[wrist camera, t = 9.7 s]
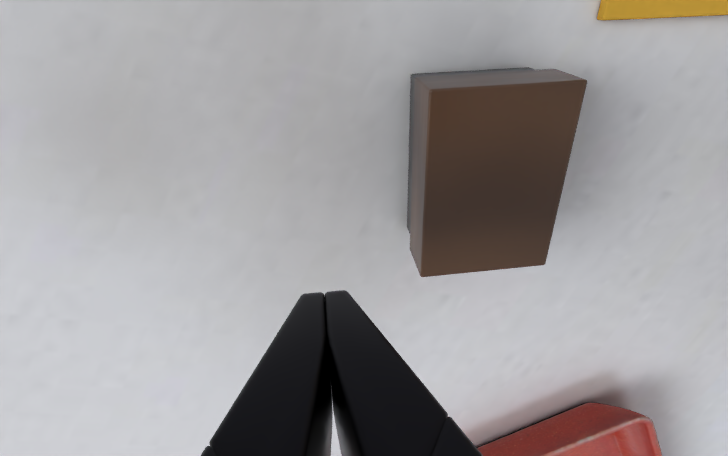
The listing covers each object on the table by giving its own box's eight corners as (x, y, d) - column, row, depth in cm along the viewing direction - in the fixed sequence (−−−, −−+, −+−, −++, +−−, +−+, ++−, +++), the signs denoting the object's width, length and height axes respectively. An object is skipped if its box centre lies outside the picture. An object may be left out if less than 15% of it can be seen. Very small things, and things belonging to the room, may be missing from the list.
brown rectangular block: (405, 68, 15) (429, 89, 12) (535, 61, 16) (588, 79, 13) (402, 231, 19) (420, 278, 16) (508, 221, 19) (545, 265, 16)
